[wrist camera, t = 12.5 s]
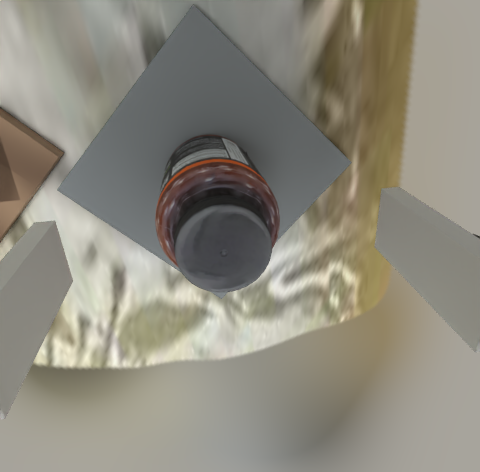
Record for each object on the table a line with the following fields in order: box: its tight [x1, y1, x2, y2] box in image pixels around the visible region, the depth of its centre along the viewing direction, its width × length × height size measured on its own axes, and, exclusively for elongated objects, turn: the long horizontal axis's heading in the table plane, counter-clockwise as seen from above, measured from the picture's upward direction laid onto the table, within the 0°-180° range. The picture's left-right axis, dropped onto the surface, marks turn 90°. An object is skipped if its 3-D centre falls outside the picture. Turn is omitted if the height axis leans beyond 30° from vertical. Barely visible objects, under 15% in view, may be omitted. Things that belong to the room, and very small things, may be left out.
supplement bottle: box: [155, 135, 280, 292], centre depth 20 cm, size 6×6×11 cm
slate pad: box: [57, 4, 352, 299], centre depth 26 cm, size 14×14×1 cm
